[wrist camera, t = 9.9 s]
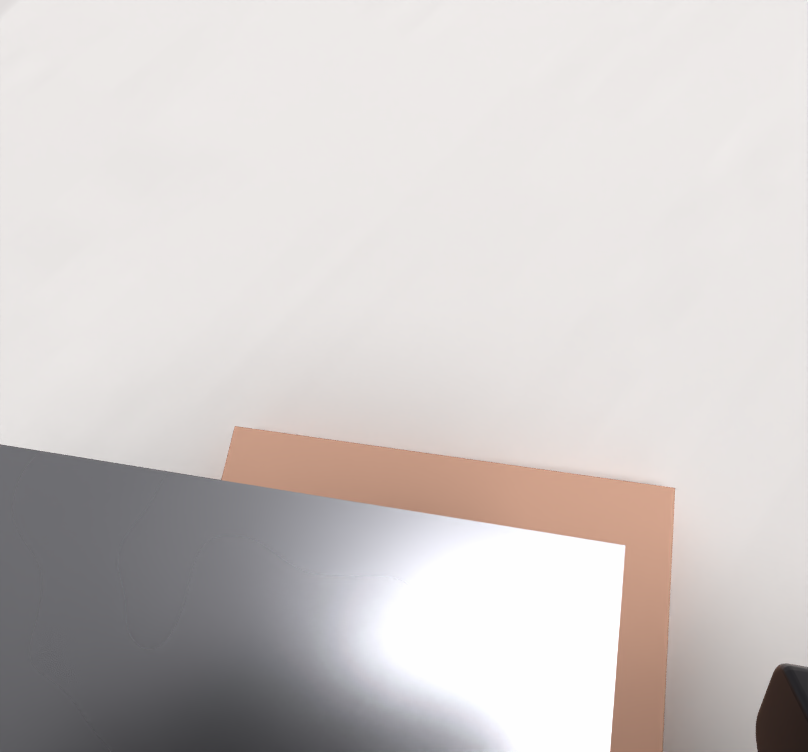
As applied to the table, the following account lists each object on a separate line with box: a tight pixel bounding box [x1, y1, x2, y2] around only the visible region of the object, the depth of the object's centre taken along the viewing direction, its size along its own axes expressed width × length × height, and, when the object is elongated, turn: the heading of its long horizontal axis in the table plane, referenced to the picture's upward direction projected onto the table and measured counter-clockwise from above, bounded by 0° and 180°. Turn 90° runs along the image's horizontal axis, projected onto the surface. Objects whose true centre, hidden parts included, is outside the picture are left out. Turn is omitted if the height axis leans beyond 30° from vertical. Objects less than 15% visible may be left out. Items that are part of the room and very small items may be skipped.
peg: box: [0, 445, 625, 752], centre depth 9 cm, size 4×4×12 cm
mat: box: [221, 426, 675, 752], centre depth 15 cm, size 10×10×1 cm
